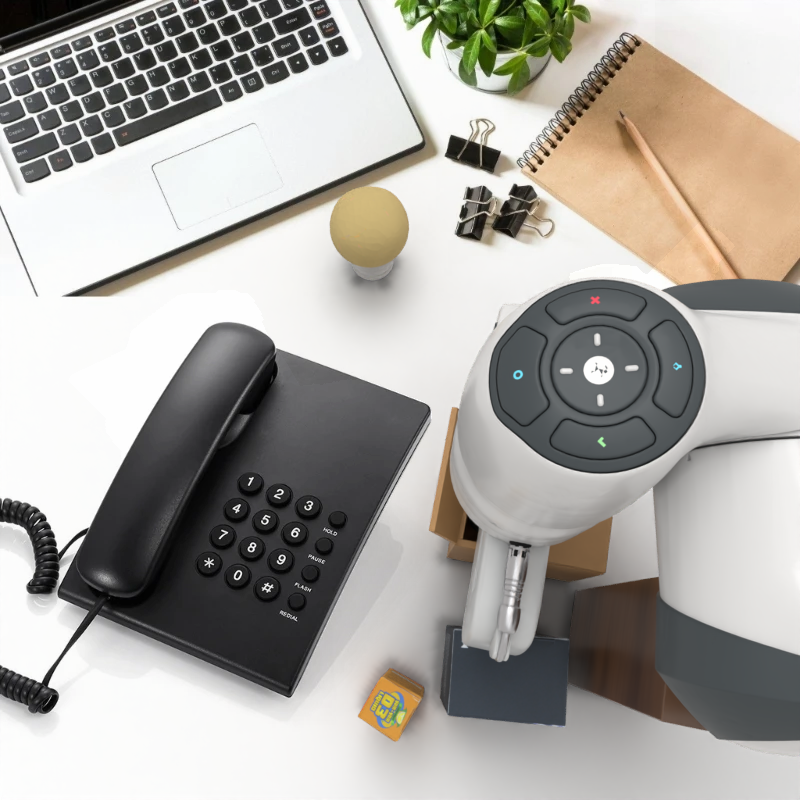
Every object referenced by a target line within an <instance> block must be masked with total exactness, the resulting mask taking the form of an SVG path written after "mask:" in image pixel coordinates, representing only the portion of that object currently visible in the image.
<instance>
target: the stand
mask: <svg viewBox="0 0 800 800" xmlns="http://www.w3.org/2000/svg"><path fill="white" fill-rule="evenodd" d="M659 591H660V588H659V575H658V576H654V577H647V578H640V579H635V580H629V581H624V582H623V581H622V582H618V583H611V584H604V585H599V586H593V587H588V588H581V589H576V590H575V592H574V600H573V606H572V613H571V615H572V616H571V622H570V627H569V628H570V629H569V636H568V639H569V640H570V650H569V668H568V684H569V685H572V686H574V687H576V688H579V689H580V690H584V691H586V692H588V693H591V694H593V695H596V696H598V697H600V698H603V699H605V700H608V701H611V702H613V703H614V704H618V705H620V706H623V707H625V708H627V709H630V710H632V711H635V712H637V713H640V714H642V715H645V716H647V717H650V718H652V719H654V720H656V721H659V722H662V723H667V724H671V725H676V726H681V727H685V728H690V729H694V730H695V729H696V730H699V731H700V730H701V731H705V732H709V731H708V730H707V729H706V728H705V727H703V726H702V725H701V724H700V723H699V722H698V721H697V720H696V718H695V717H694V716H693V715H692V714H691V713H690V712H689V711H688V710H687V709H686V708H685V706H684V705H683V704H682V703H681V702H680V701H679V699H678V698H677V697H676V696H675V694H674V693H673V692H672V691H671V690H670V688H669V687H668V686H667V684H666V683H665V681H664V680H663V679H662V677H661V676H660V675H659V673H658V672H657V670H656V669H655V640H656V595H657V592H659Z"/></svg>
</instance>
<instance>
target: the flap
mask: <svg viewBox="0 0 800 800" xmlns="http://www.w3.org/2000/svg"><path fill="white" fill-rule="evenodd" d="M458 411H459V407H458V406H457V407H455V406H452V407H451V410H450V414H449V420H448V427H447V432H446V436H445V442H444V447H443V452H442V457H441V463H440V468H439V474H438V479H437V484H436V489H435V494H434V495H435V496H434V501H433V506H432V509H431V510H432V511H431V517H430V521H429V527H428V531H429V532H430V533H433V534H434V535H436V536H438V537H440V538H442V539H443V540H446V541H448V543H449V542H451V543H456V544H457V541H458V536H459V530H460V525H461V519H462V513H463V508H462V506H461V505H460V503H459V501H458V499H457V497H456V494H455V491H454V489H453V485H452V481H451V475H450V454H451V448H452V442H453V437H454V432H455V427H456V423H457V420H458Z"/></svg>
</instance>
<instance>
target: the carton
mask: <svg viewBox="0 0 800 800" xmlns="http://www.w3.org/2000/svg"><path fill="white" fill-rule="evenodd" d="M613 519H614V516H612V517H610V518H608V519H606V520H604V521H601V522H599V523H598V524H596V525H595V526H593V527H591V528H590V529H588V530H586V531H584V532H582V533H580V534H578V535H577V536H575V537H573V538H571V539H569V540H567V541H564V542H562V543H559V544H556V545H551V546H550V549H549V556H548V562H547V569H546V576H545V579H546V578H547V579H552V580H557V581H560V582H566V583H573V582H576V581H581V580H582V581H583V580H585V579H590V578H595V577H599V576H603V575H605V574H606V572H607V566H608V565H607V564H608V557H609V549H610V542H611V541H610V540H611V533H612V527H613V526H612V525H613ZM477 537H478V532H477V531H476V530H475V529H474V528H473V527H472V525H471V523H470V521H469V516H468V515H467V514H466V512H465V511H464V509H463V513H462V519H461V525H460V530H459V536H458V541H457V544H456V543H451V542H449V541H448V548H447V553H446V558H448V559H452V560H456V561H460V562H465V563H471V564H473V560H474V555H475V549H476V543H477Z"/></svg>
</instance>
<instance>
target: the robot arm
mask: <svg viewBox="0 0 800 800" xmlns="http://www.w3.org/2000/svg"><path fill="white" fill-rule="evenodd" d="M496 318H497V319H496V322H495V323H494V326H493V330H492V331H491V332H490V333H489V335H488V337H487V338H486V339H485V341H484V343H483V345H482V346H481V348H480V350H479V351H478V353H477V355H476V357H475V359H474V362H473V363H472V365H471V368H470V370H469V373H468V375H467V378H466V381H465V383H464V387H463V390H462V395H461V397H460V401H459V406H458V409H459V411H458V420H457V423H456V427H455V432H454V437H453V442H452V448H451V454H450V475H451V481H452V485H453V489H454V491H455V494H456V497H457V499H458V501H459V503H460V505H461V506H462V508H463V509H464V511H465V512H466V514H467V515H468V516H469V517H470V519H471V520H472V521H473V522H474V523H475V524H476V525H477V526H479V531H478V537H477V543H476V549H475V555H474V560H473V563H472V567H471V573H470V579H469V585H468V589H467V597H466V603H465V608H464V614H463V619H462V642H463V643H464V644H465V645H466V646H470V647H475V648H479V649H484V650H488V651H489V655H490V657H491V658H492V659H494V660H496V661H497V662H502V661H507V660H508V658H509V655H515V656H516V655H520V654H522V653H523V652H525V651H526V650H527V649H528V648H529V647H530V645H531V644H532V641H533V639H534V636H535V634H536V631H537V628H538V623H539V619H540V613H541V610H542V602H543V597H544V596H543V595H544V589H545V582H546V577H545V576H546V569H547V562H548V556H549V549H550V546H551V545H556V544H559V543H562V542H564V541H567V540H569V539H571V538H573V537H575V536H577V535H578V534H580V533H582V532H584V531H586V530H588V529H590V528H591V527H593V526H595V525H596V524H598V523H599V522H601V521H604V520H606V519H608V518H610V517H612V516H613V517H614V516H615V515H618V514H619V513H620V512H622V511H624V510H625V509H627V508H629V507H630V506H631V505H632V504H634V503H636V502H637V501H638V500H640V499H641V498H642V497H643V496H644V495H645V494H647V493H648V492H649V491H650V490H651V489H652V498H653V512H654V526H655V543H656V557H657V570H658V571H657V572H658V576H659V588H660V591H659V592H657V595H656V640H655V669H656V670H657V672H658V673H659V675H660V676H661V677H662V679H663V680H664V681H665V683H666V684H667V686H668V687H669V688H670V690H671V691H672V692H673V693H674V694H675V696H676V697H677V698H678V699H679V701H680V702H681V703H682V704H683V705H684V706H685V708H686V709H687V710H688V711H689V712H690V713H691V714H692V715H693V716H694V717H695V718H696V720H697V721H698V722H699V723H700V724H701V725H702V726H703V727H705V728H706V729H707V730H708V731H707V732H709V733H710V734H711V735H712V736H713V737H714V738H715V739H717V740H722V741H727V742H730V743H732V744H734V745H736V746H739V747H741V748H745V749H748V750H751V751H755V752H759V753H765V754H769V755H778V756H785V757H800V284H797V283H792V282H788V281H782V280H781V281H780V280H771V279H770V280H769V279H760V278H759V279H758V278H724V279H723V278H722V279H712V280H711V279H710V280H702V281H695V282H689V283H682V284H677V285H674V286H673V285H672V286H669V287H665V288H662V289H659V288H657V287H655V286H653V285H651V284H647V283H645V282H642V281H638V280H634V279H630V278H624V277H616V276H615V277H614V276H591V277H583V278H577V279H571V280H568V281H564V282H562V283H559V284H557V285H554V286H552V287H550V288H548V289H545V290H543V291H541V292H539V293H537V294H536V295H534V296H532V297H531V298H529V299H528V300H526V301H525V302H523V303H522V304H521V303H504V304H502V305H501V307H499V310H498V313H497V317H496Z"/></svg>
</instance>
